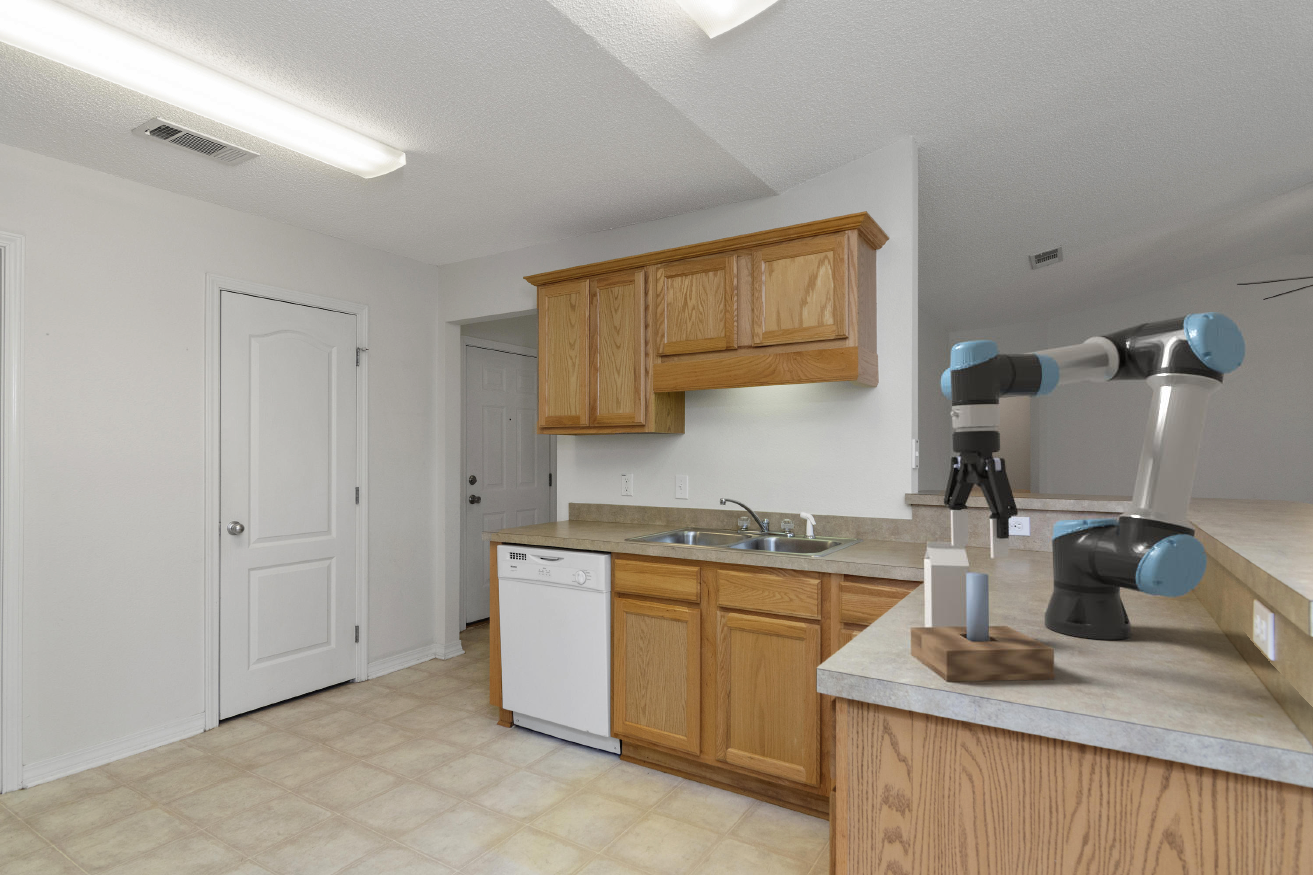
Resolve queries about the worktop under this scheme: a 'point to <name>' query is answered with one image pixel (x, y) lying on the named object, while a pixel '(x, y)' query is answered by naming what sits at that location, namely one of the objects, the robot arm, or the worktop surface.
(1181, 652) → the worktop surface
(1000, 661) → the bore block
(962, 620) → the milk carton
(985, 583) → the pin
